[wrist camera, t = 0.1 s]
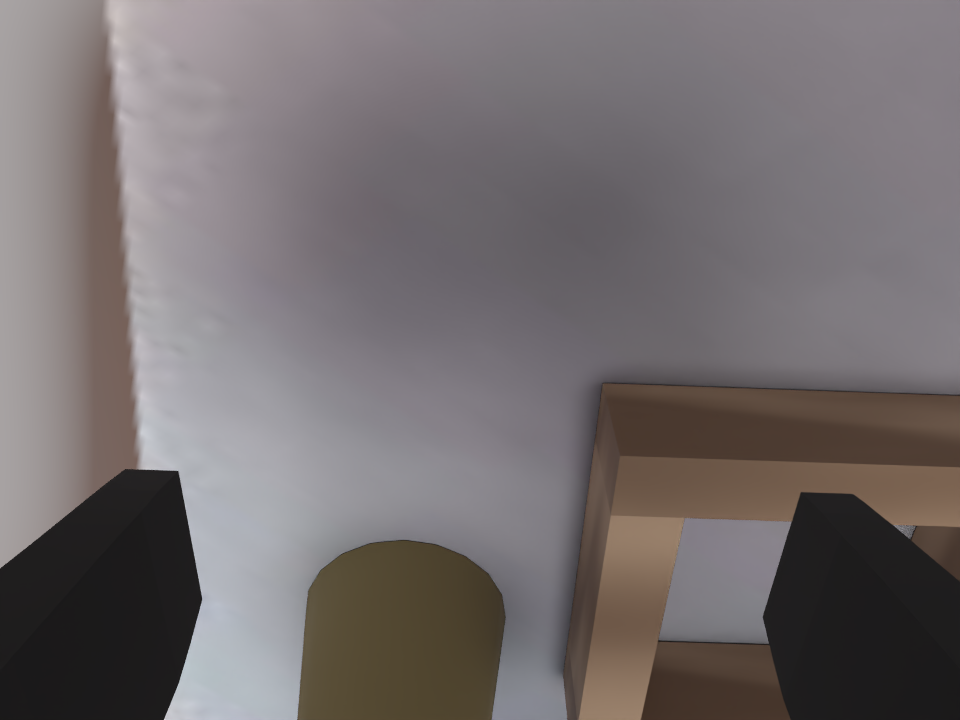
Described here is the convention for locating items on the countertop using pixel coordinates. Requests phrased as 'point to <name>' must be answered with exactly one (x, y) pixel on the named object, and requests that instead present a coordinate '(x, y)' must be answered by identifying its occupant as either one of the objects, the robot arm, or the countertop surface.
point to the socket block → (738, 496)
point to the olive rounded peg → (401, 636)
